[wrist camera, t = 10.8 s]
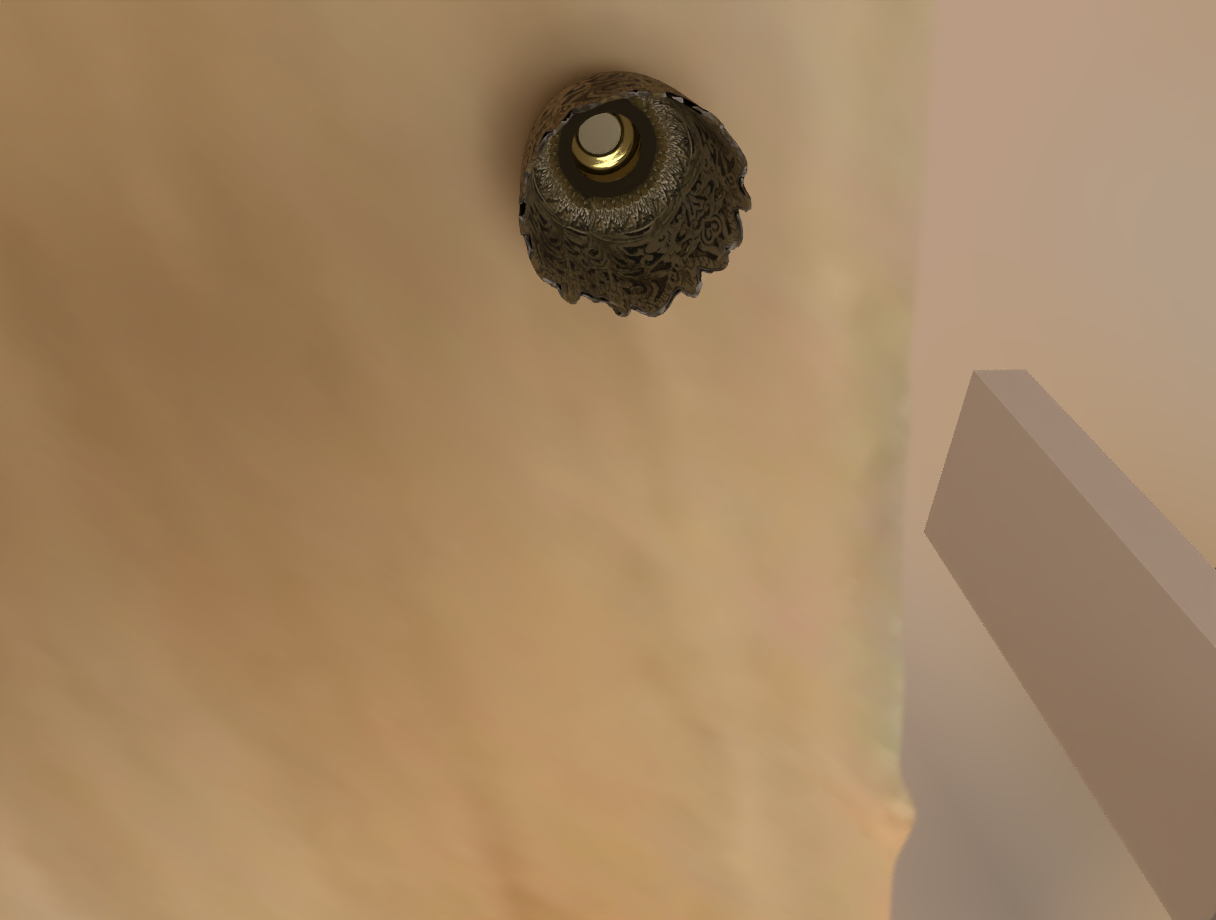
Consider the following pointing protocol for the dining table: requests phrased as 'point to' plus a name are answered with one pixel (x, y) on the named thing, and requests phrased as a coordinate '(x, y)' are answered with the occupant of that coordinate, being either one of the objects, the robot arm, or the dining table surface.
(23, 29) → the dining table surface
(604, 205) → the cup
